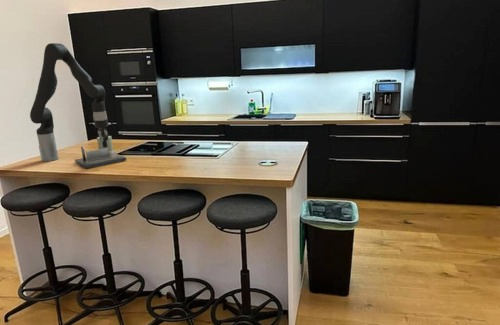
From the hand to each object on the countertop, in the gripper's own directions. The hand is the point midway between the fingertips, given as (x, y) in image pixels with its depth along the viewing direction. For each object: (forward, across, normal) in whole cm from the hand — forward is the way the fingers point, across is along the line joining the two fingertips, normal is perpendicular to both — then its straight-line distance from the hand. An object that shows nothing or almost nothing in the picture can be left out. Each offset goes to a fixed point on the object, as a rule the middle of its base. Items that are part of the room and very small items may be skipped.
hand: (105, 147), depth 216 cm
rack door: (+7, -7, -3) cm, 10 cm away
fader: (+7, +3, +3) cm, 8 cm away
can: (+9, -20, +7) cm, 23 cm away
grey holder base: (+9, -2, -3) cm, 10 cm away
